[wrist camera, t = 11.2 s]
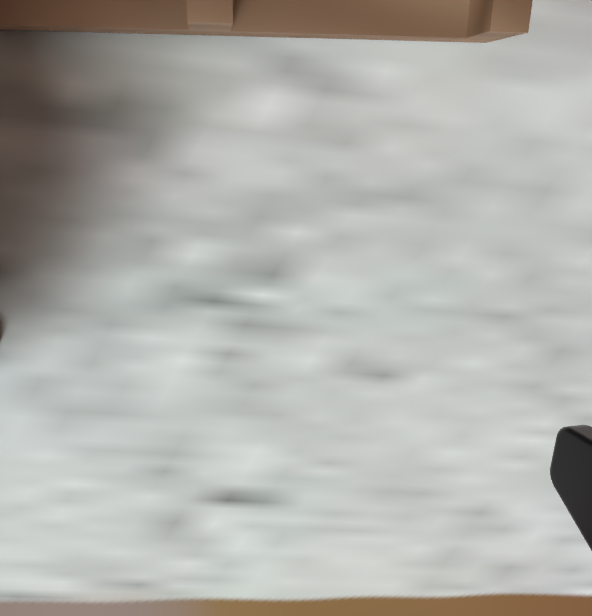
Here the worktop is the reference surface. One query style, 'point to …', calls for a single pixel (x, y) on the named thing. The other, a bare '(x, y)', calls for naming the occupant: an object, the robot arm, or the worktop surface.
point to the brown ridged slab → (279, 18)
